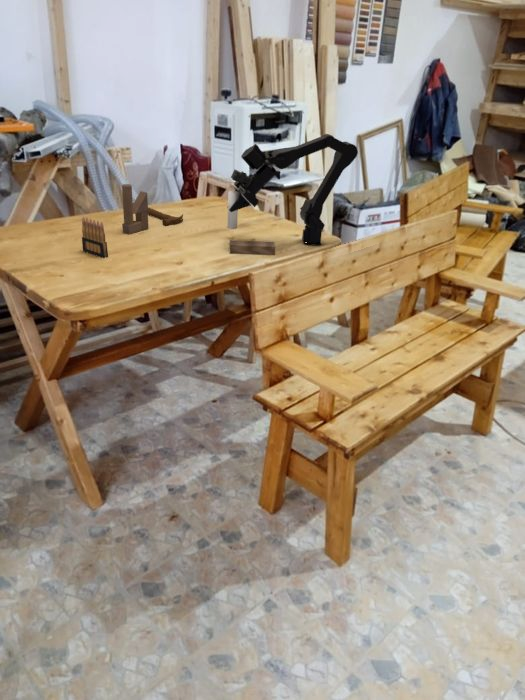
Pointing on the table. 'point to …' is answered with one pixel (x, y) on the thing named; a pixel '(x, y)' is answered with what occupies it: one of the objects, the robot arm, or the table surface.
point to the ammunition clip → (94, 238)
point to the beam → (252, 247)
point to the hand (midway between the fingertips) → (229, 209)
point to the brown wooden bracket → (134, 210)
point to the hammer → (165, 217)
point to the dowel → (233, 215)
